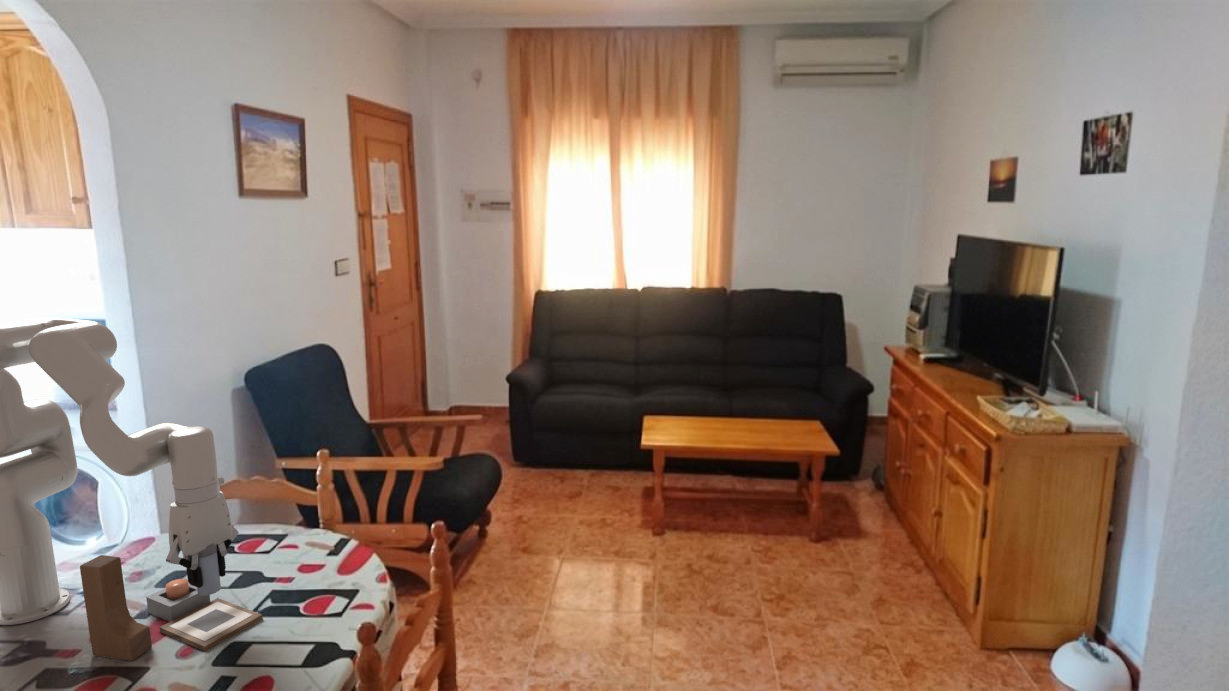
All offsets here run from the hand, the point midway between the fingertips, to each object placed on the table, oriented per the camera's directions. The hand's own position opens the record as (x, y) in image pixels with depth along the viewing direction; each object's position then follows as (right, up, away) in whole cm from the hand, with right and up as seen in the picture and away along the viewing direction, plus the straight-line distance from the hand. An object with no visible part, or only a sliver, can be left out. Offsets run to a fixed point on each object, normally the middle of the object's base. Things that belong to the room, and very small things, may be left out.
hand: (207, 579), depth 138 cm
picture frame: (0, -10, +2) cm, 10 cm away
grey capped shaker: (0, -2, 0) cm, 2 cm away
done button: (-10, -6, +7) cm, 14 cm away
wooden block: (-12, -12, -7) cm, 18 cm away
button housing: (-10, -9, +8) cm, 16 cm away
